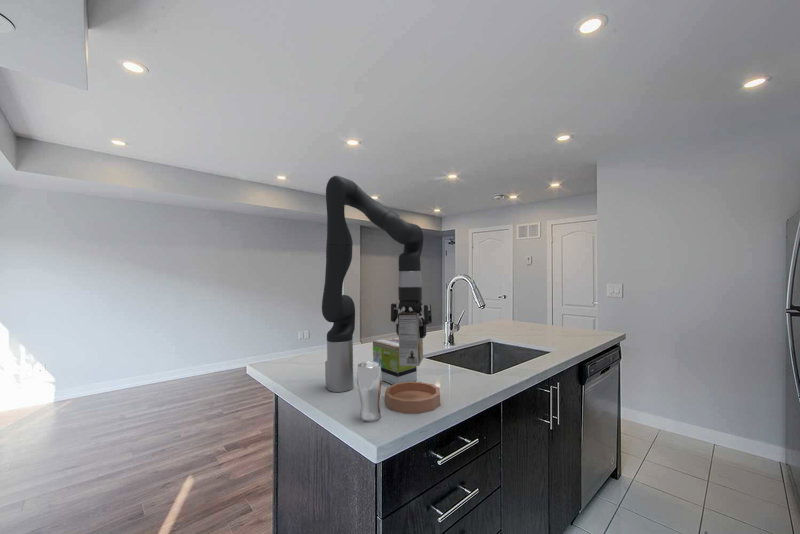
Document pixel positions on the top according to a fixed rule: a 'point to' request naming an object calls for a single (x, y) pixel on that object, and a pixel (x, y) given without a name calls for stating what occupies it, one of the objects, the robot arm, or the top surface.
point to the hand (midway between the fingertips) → (411, 336)
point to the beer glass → (369, 390)
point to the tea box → (392, 362)
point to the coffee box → (409, 339)
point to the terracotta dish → (412, 397)
